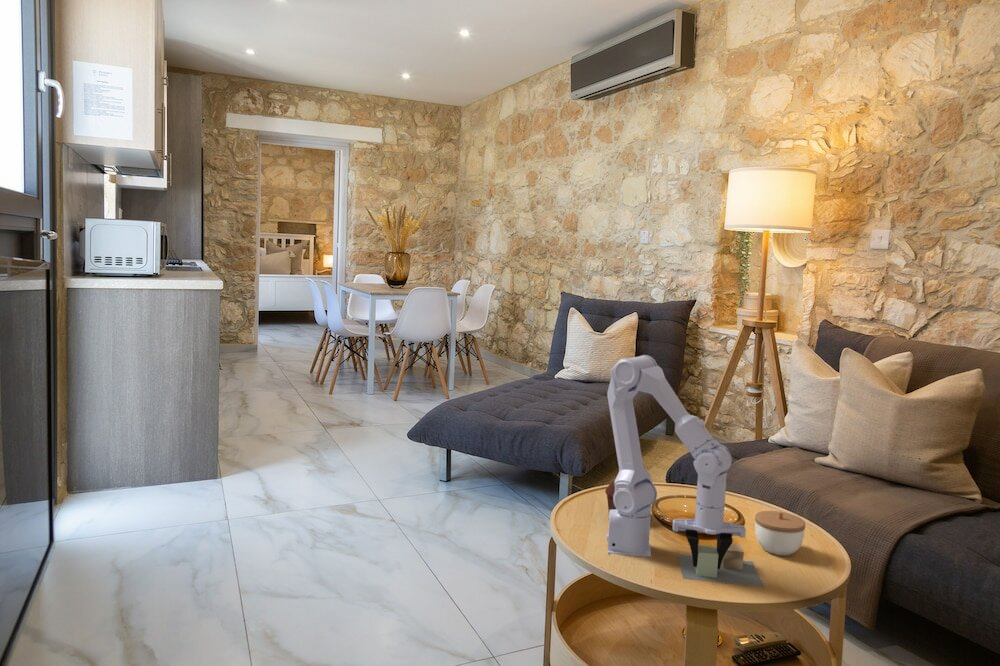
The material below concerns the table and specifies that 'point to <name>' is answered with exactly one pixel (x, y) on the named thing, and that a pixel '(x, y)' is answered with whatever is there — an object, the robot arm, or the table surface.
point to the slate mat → (722, 573)
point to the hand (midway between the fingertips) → (706, 565)
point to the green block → (707, 561)
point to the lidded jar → (779, 532)
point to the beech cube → (733, 557)
